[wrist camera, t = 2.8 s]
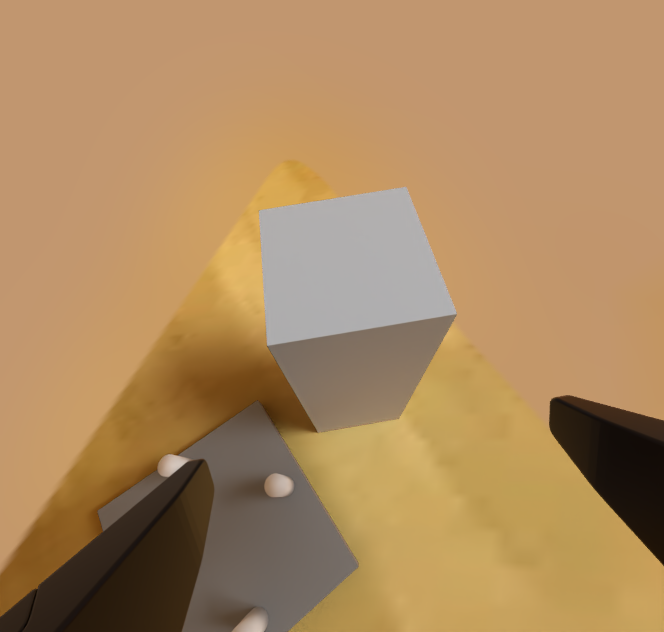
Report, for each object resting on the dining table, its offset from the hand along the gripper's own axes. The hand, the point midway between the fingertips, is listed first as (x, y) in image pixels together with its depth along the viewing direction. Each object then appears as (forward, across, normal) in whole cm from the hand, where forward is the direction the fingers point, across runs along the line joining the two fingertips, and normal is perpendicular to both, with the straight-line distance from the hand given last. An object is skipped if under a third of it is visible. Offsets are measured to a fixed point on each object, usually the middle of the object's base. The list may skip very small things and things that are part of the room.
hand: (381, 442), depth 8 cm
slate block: (+12, 0, +5) cm, 13 cm away
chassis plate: (+7, +8, +10) cm, 14 cm away
